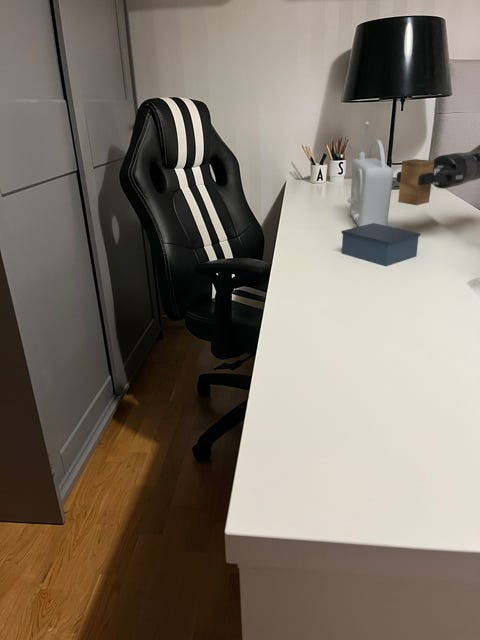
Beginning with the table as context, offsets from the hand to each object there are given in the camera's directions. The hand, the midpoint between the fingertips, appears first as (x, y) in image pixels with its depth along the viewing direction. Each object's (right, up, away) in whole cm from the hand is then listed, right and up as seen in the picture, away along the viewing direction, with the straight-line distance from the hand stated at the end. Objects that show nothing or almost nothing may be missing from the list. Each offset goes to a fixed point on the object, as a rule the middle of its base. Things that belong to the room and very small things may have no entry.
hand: (409, 178), depth 109 cm
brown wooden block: (+2, -4, +4) cm, 6 cm away
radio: (-4, -5, +25) cm, 25 cm away
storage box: (-7, -17, -2) cm, 18 cm away
